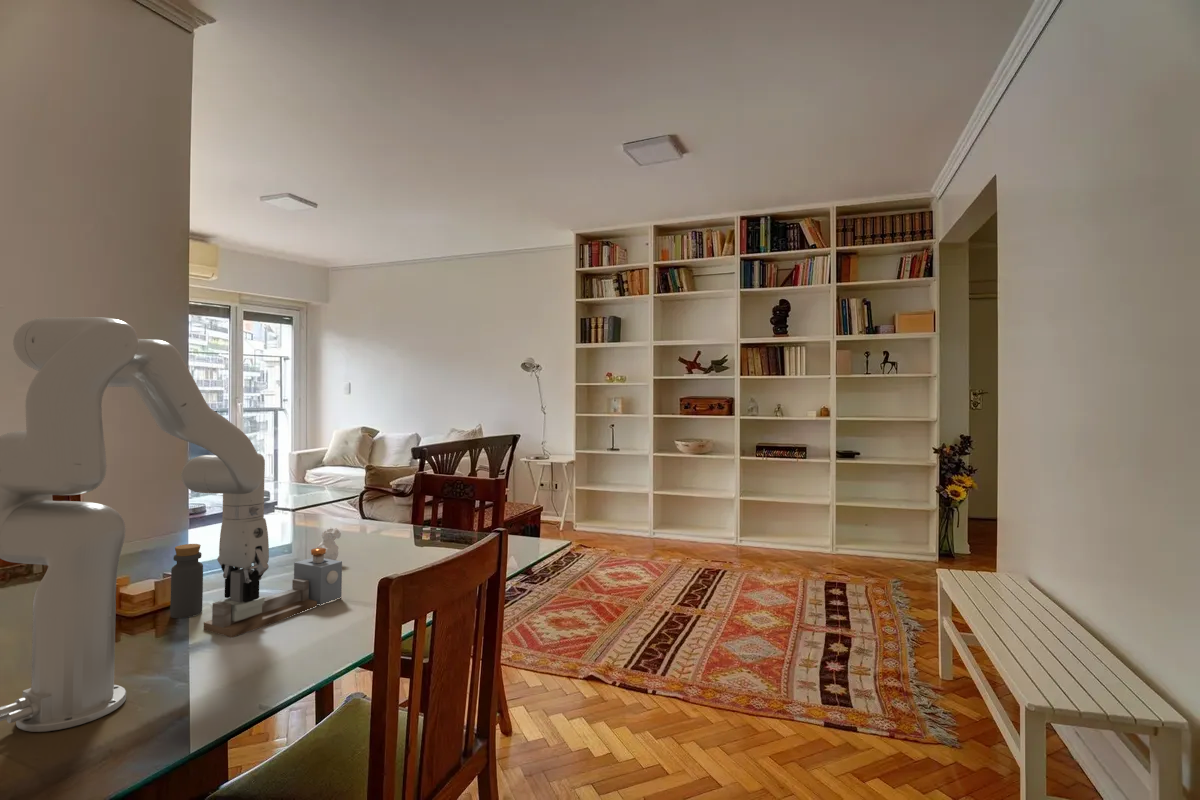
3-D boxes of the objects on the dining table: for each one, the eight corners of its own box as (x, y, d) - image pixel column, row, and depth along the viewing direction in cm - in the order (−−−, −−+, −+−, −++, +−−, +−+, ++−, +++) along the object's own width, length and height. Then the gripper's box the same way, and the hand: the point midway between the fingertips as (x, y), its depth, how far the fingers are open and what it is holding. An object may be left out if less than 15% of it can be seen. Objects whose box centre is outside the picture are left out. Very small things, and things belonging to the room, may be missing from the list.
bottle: (186, 619, 130) (187, 550, 130) (163, 617, 131) (164, 548, 131) (208, 610, 136) (210, 543, 136) (186, 608, 137) (188, 542, 137)
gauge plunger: (317, 574, 142) (317, 551, 142) (307, 573, 144) (308, 550, 144) (328, 571, 145) (328, 548, 145) (318, 569, 147) (319, 547, 147)
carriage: (236, 622, 123) (237, 576, 123) (218, 617, 126) (219, 572, 126) (264, 613, 129) (265, 569, 129) (245, 608, 131) (246, 565, 131)
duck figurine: (328, 575, 172) (355, 542, 175) (305, 562, 169) (333, 527, 172) (324, 565, 182) (349, 534, 185) (302, 552, 179) (328, 520, 182)
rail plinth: (231, 637, 121) (232, 607, 121) (203, 629, 125) (204, 601, 125) (316, 607, 139) (317, 581, 139) (289, 601, 143) (290, 576, 143)
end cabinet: (321, 606, 140) (322, 567, 140) (293, 600, 144) (294, 562, 144) (342, 599, 145) (343, 561, 145) (314, 593, 149) (315, 556, 149)
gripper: (287, 512, 127) (285, 599, 127) (234, 505, 134) (232, 587, 134) (253, 518, 120) (251, 610, 120) (199, 511, 128) (198, 597, 127)
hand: (241, 597), depth 127 cm, fingers open, 5 cm apart
